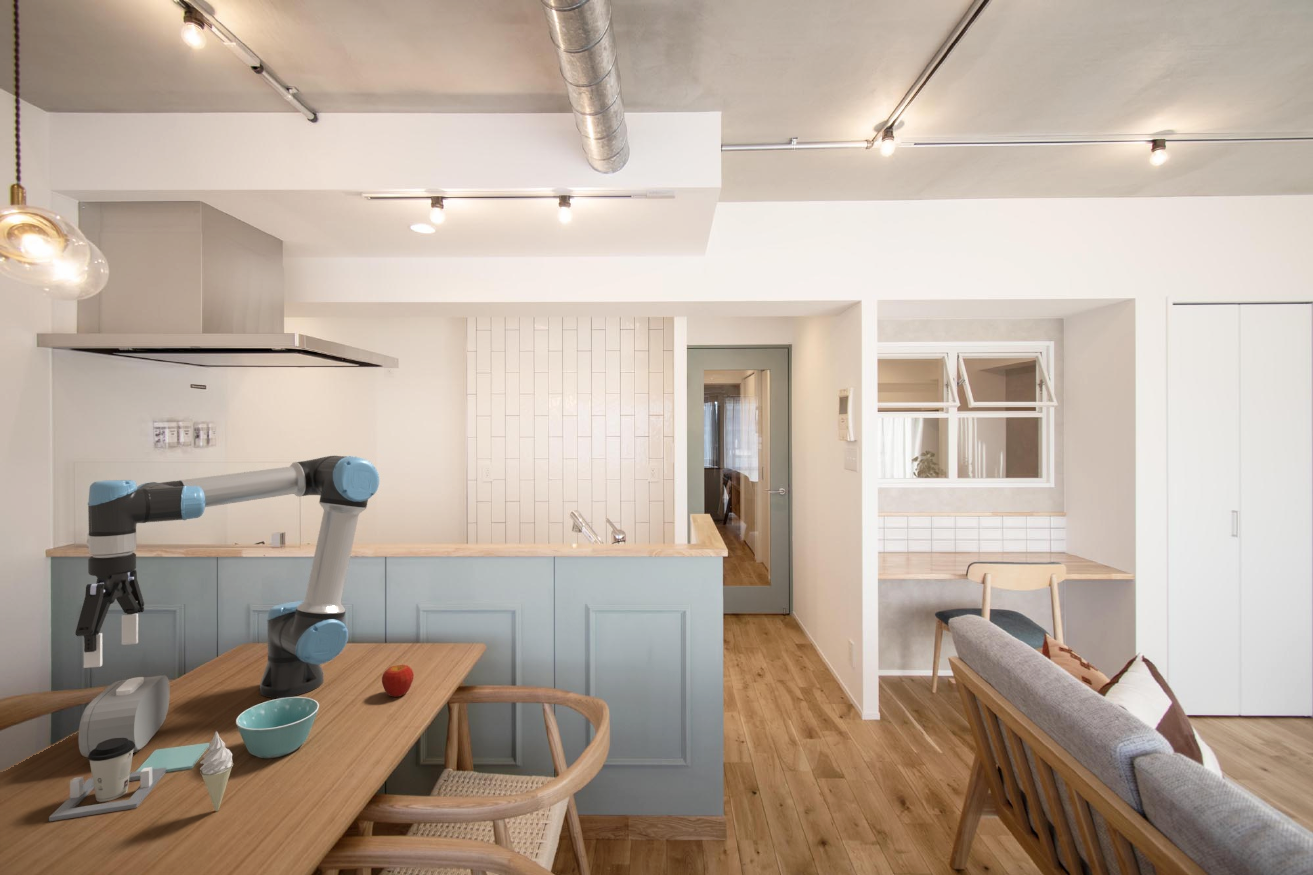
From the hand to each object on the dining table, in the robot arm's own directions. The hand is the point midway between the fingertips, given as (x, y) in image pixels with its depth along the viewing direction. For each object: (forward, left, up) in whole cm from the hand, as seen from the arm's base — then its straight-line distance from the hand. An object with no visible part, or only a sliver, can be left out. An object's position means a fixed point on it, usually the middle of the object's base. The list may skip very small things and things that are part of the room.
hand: (112, 654), depth 129 cm
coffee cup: (-5, +12, -24) cm, 27 cm away
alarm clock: (+2, -11, -24) cm, 26 cm away
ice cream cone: (-26, +24, -24) cm, 43 cm away
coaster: (-11, +1, -24) cm, 26 cm away
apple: (-54, -20, -24) cm, 62 cm away
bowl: (-31, +2, -24) cm, 39 cm away
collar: (-5, +12, -24) cm, 27 cm away
